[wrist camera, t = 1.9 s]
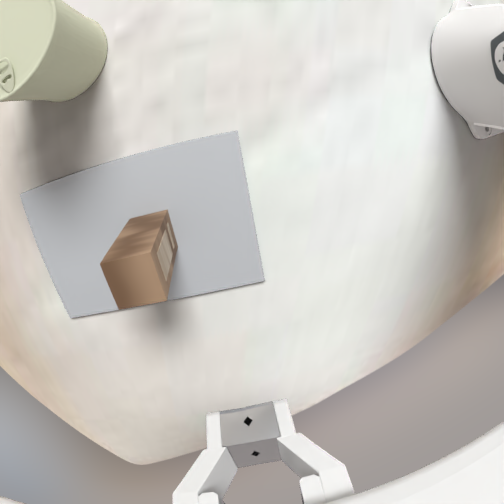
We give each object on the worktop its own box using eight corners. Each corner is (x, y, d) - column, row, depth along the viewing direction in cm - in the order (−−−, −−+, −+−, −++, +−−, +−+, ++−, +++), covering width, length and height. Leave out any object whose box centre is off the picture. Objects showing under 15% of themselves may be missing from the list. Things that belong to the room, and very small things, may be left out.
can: (39, 117, 25) (-34, 128, 14) (22, 44, 21) (-49, 29, 10) (117, 77, 25) (64, 60, 14) (97, 1, 21) (46, -43, 10)
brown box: (168, 209, 30) (151, 252, 21) (178, 246, 32) (167, 300, 23) (129, 218, 30) (99, 263, 21) (141, 254, 32) (118, 309, 23)
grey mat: (237, 130, 28) (237, 130, 28) (264, 278, 35) (264, 280, 35) (21, 193, 27) (19, 194, 27) (71, 316, 34) (70, 318, 34)
